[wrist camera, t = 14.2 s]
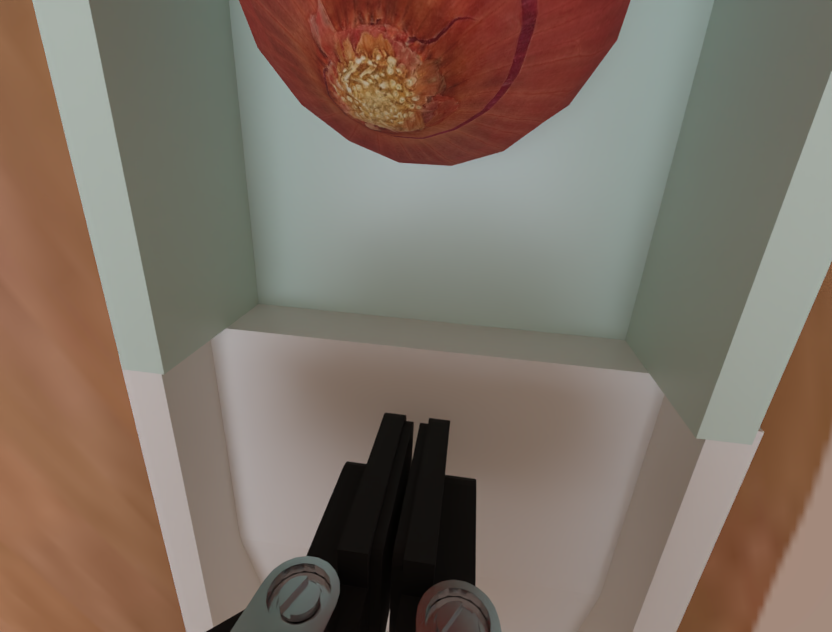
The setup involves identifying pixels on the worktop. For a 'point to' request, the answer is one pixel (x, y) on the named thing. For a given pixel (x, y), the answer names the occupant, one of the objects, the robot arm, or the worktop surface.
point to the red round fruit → (434, 67)
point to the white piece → (466, 457)
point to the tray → (467, 195)
